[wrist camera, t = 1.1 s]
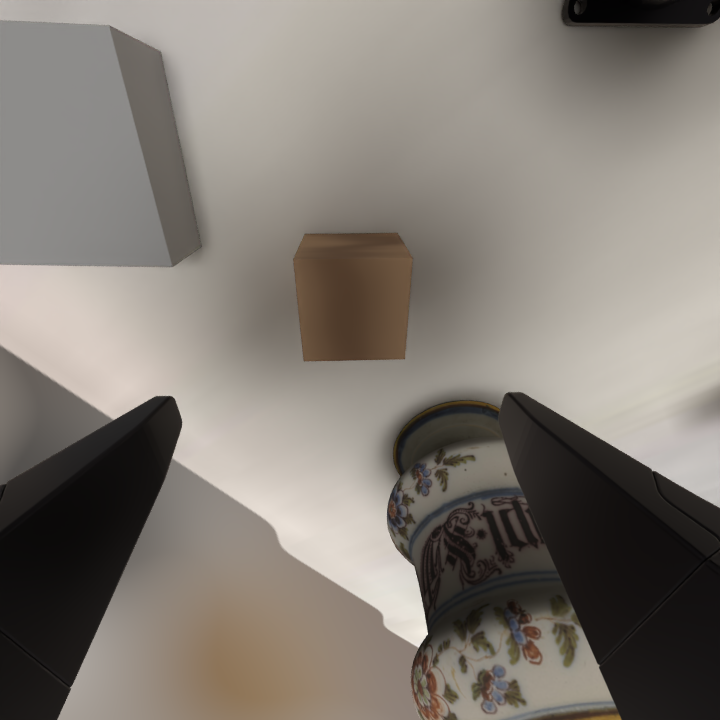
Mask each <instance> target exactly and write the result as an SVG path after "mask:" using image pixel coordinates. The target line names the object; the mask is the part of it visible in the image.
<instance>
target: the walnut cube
mask: <svg viewBox="0 0 720 720" xmlns="http://www.w3.org/2000/svg"><path fill="white" fill-rule="evenodd" d="M293 261H294V271H295V281H296V290H297V300H298V310H299V320H300V329H301V339H302V349H303V358H304V361H343V360H390V359H405V350H406V338H407V325H408V312H409V300H410V287H411V274H412V261H413V258H412V256H411V254H410V253H409V251H408V249H407V248H406V246H405V245H404V243H403V241H402V240H401V238H400V236H399V235H398V233H351V234H305V235H304V237H303V239H302V241H301V244H300V246H299V248H298V250H297V252H296V255H295V257H294V259H293Z"/></svg>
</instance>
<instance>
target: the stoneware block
mask: <svg viewBox="0 0 720 720" xmlns="http://www.w3.org/2000/svg"><path fill="white" fill-rule="evenodd" d="M200 247H202V246H201V241H200V237H199V232H198V227H197V222H196V218H195V213H194V208H193V203H192V199H191V194H190V189H189V184H188V180H187V175H186V170H185V165H184V161H183V156H182V151H181V146H180V142H179V137H178V132H177V127H176V123H175V118H174V113H173V108H172V104H171V99H170V94H169V89H168V84H167V80H166V75H165V70H164V65H163V61H162V56H161V51H159V50H157V49H155V48H153V47H151V46H149V45H147V44H145V43H143V42H141V41H139V40H137V39H135V38H133V37H131V36H129V35H127V34H125V33H123V32H121V31H119V30H117V29H115V28H113V27H111V26H109V25H91V24H69V23H47V22H25V21H3V20H0V265H61V266H128V267H173V266H175V265H176V264H178V263H179V262H180V261H182V260H183V259H185V258H186V257H188V256H189V255H190V254H192V253H193V252H195V251H196V250H197V249H199V248H200Z"/></svg>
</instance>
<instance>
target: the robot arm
mask: <svg viewBox="0 0 720 720" xmlns="http://www.w3.org/2000/svg"><path fill="white" fill-rule="evenodd" d="M576 1H577V0H565V2H564V6H563V14H562V16H563V20H564V22H565V23H566V24H567V25H570V26H646V27H701V26H705V25H708V24H711V23H713V22H715V21H716V20H718V19H719V17H720V0H578V1H580V3H581V11H580V13H579V14H576V13H575V11H574V5H575V3H576ZM710 3H711V4H712V10H711V12H710V14H709V15H708V13H707V9H708V6H709V4H710ZM498 422H499V426H500V429H501V432H502V436H503V439H504V442H505V445H506V449H507V452H508V455H509V458H510V462H511V465H512V468H513V471H514V473H515V476H516V478H517V481H518V483H519V485H520V488H521V490H522V492H523V494H524V497H525V499H526V501H527V504H528V506H529V508H530V510H531V513H532V515H533V517H534V520H535V522H536V524H537V527H538V529H539V531H540V533H541V536H542V538H543V540H544V543H545V545H546V547H547V549H548V552H549V554H550V556H551V559H552V561H553V563H554V565H555V568H556V570H557V572H558V575H559V577H560V579H561V582H562V584H563V586H564V588H565V591H566V593H567V595H568V598H569V600H570V602H571V604H572V607H573V609H574V611H575V614H576V616H577V618H578V621H579V623H580V625H581V627H582V630H583V632H584V634H585V637H586V639H587V641H588V643H589V646H590V648H591V650H592V653H593V655H594V657H595V659H596V662H597V664H598V665H600V666H599V669H600V672H601V674H602V676H603V678H604V681H605V683H606V685H607V688H608V690H609V692H610V694H611V697H612V699H613V701H614V704H615V706H616V708H617V711H618V713H619V715H620V717H621V720H720V508H719V507H717V506H715V505H713V504H712V503H710V502H708V501H706V500H704V499H702V498H700V497H699V496H697V495H695V494H693V493H692V492H690V491H688V490H686V489H685V488H683V487H681V486H679V485H678V484H676V483H674V482H672V481H671V480H669V479H667V478H666V477H664V476H662V475H661V474H659V473H657V472H656V471H653V472H652V470H651V469H650V468H649V467H647V466H645V465H644V464H642V463H640V462H639V461H637V460H635V459H634V458H632V457H630V456H629V455H627V454H625V453H623V452H622V451H620V450H618V449H617V448H615V447H613V446H612V445H610V444H608V443H607V442H605V441H603V440H601V439H600V438H598V437H596V436H595V435H593V434H591V433H590V432H588V431H586V430H585V429H583V428H581V427H579V426H578V425H576V424H574V423H573V422H571V421H569V420H568V419H566V418H564V417H563V416H561V415H559V414H558V413H556V412H554V411H552V410H551V409H549V408H547V407H546V406H544V405H542V404H541V403H539V402H537V401H536V400H534V399H532V398H530V397H529V396H527V395H525V394H524V393H521V392H508V393H506V394H505V396H504V398H503V402H502V405H501V408H500V412H499V416H498ZM181 428H182V419H181V415H180V413H179V410H178V407H177V404H176V401H175V399H174V398H173V397H172V396H156V397H154V398H152V399H150V400H148V401H147V402H145V403H143V404H141V405H140V406H138V407H136V408H134V409H133V410H131V411H129V412H127V413H126V414H124V415H122V416H120V417H119V418H117V419H115V420H114V421H112V422H110V423H108V424H107V425H105V426H103V427H101V428H100V429H98V430H96V431H94V432H93V433H91V434H89V435H88V436H86V437H84V438H82V439H81V440H79V441H77V442H75V443H73V444H72V445H70V446H68V447H67V448H65V449H63V450H61V451H60V452H58V453H56V454H55V455H53V456H51V457H49V458H47V459H46V460H44V461H42V462H40V463H39V464H37V465H35V466H34V467H32V468H30V469H28V470H27V471H25V472H23V473H21V474H20V475H18V476H16V477H15V478H13V479H11V480H9V481H8V482H7V484H2V485H0V720H57V719H58V717H59V714H60V712H61V710H62V708H63V705H64V703H65V701H66V699H67V696H68V695H69V692H70V690H71V688H70V687H71V686H72V685H73V683H74V680H75V678H76V676H77V674H78V672H79V669H80V667H81V665H82V663H83V660H84V658H85V656H86V654H87V652H88V649H89V647H90V645H91V642H92V640H93V638H94V636H95V634H96V632H97V629H98V627H99V625H100V622H101V620H102V618H103V616H104V614H105V611H106V609H107V607H108V605H109V602H110V600H111V598H112V596H113V594H114V592H115V589H116V587H117V585H118V582H119V580H120V578H121V576H122V574H123V571H124V569H125V567H126V565H127V562H128V560H129V558H130V556H131V554H132V552H133V549H134V547H135V545H136V543H137V540H138V538H139V536H140V534H141V532H142V529H143V527H144V524H145V523H146V520H147V518H148V516H149V514H150V512H151V509H152V507H153V505H154V503H155V500H156V498H157V496H158V494H159V492H160V489H161V487H162V485H163V482H164V480H165V477H166V475H167V472H168V469H169V466H170V463H171V459H172V456H173V453H174V450H175V447H176V444H177V441H178V438H179V434H180V431H181Z"/></svg>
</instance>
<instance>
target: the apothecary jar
mask: <svg viewBox="0 0 720 720" xmlns="http://www.w3.org/2000/svg"><path fill="white" fill-rule="evenodd" d="M499 412H500V409H499V408H497V407H495V406H493V405H490V404H488V403H483V402H478V401H454V402H448V403H444V404H441V405H437V406H434V407H432V408H430V409H428V410H426V411H424V412H423V413H421V414H419V415H418V416H416V417H415V418H413V419H412V420H411V421H410V422H409V423H408V424H407V425H406V426H405V427H404V428H403V430H402V431H401V432H400V434H399V436H398V437H397V440H396V442H395V445H394V449H393V459H394V464H395V467H396V469H397V471H398V473H399V474H400V476H401V477H400V479H399V480H398V481H397V483H396V484H395V486H394V488H393V490H392V493H391V495H390V499H389V503H388V508H387V525H388V530H389V533H390V536H391V539H392V541H393V543H394V544H395V547H396V548H397V550H398V551H399V552H400V553H401V554H402V555H403V556H404V558H405V559H407V560H408V561H409V562H410V563H411V564H412V565H414V566H415V570H416V574H417V578H418V582H419V587H420V592H421V597H422V602H423V607H424V612H425V618H426V624H427V630H428V635H427V636H426V638H425V639H424V641H423V642H422V644H421V645H420V647H419V649H418V651H417V654H416V656H415V658H414V661H413V666H412V671H411V691H412V697H413V701H414V705H415V708H416V711H417V713H418V715H419V717H420V719H421V720H621V717H620V715H619V713H618V711H617V708H616V706H615V704H614V701H613V699H612V697H611V694H610V692H609V690H608V688H607V685H606V683H605V681H604V678H603V676H602V674H601V672H600V669H599V666H600V665H598V664H597V662H596V659H595V657H594V655H593V653H592V650H591V648H590V646H589V643H588V641H587V639H586V637H585V634H584V632H583V630H582V627H581V625H580V623H579V621H578V618H577V616H576V614H575V611H574V609H573V607H572V604H571V602H570V600H569V598H568V595H567V593H566V591H565V588H564V586H563V584H562V582H561V579H560V577H559V575H558V572H557V570H556V568H555V565H554V563H553V561H552V559H551V556H550V554H549V552H548V549H547V547H546V545H545V543H544V540H543V538H542V536H541V533H540V531H539V529H538V527H537V524H536V522H535V520H534V517H533V515H532V513H531V510H530V508H529V506H528V504H527V501H526V499H525V497H524V494H523V492H522V490H521V488H520V485H519V483H518V481H517V478H516V476H515V473H514V471H513V468H512V465H511V462H510V458H509V455H508V452H507V449H506V445H505V442H504V439H503V436H502V432H501V429H500V426H499V422H498V416H499Z"/></svg>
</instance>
